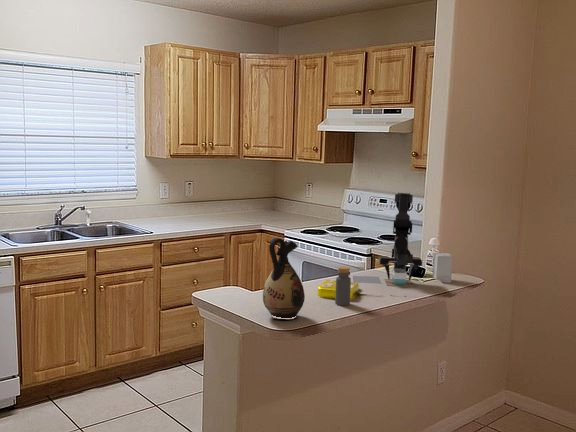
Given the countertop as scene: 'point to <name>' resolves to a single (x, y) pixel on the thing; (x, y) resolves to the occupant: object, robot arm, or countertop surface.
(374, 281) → the slate stand
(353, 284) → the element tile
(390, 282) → the walnut stand
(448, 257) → the supplement box
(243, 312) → the countertop surface
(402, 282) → the block
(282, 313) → the ceramic jug
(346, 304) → the bottle
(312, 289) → the countertop surface
